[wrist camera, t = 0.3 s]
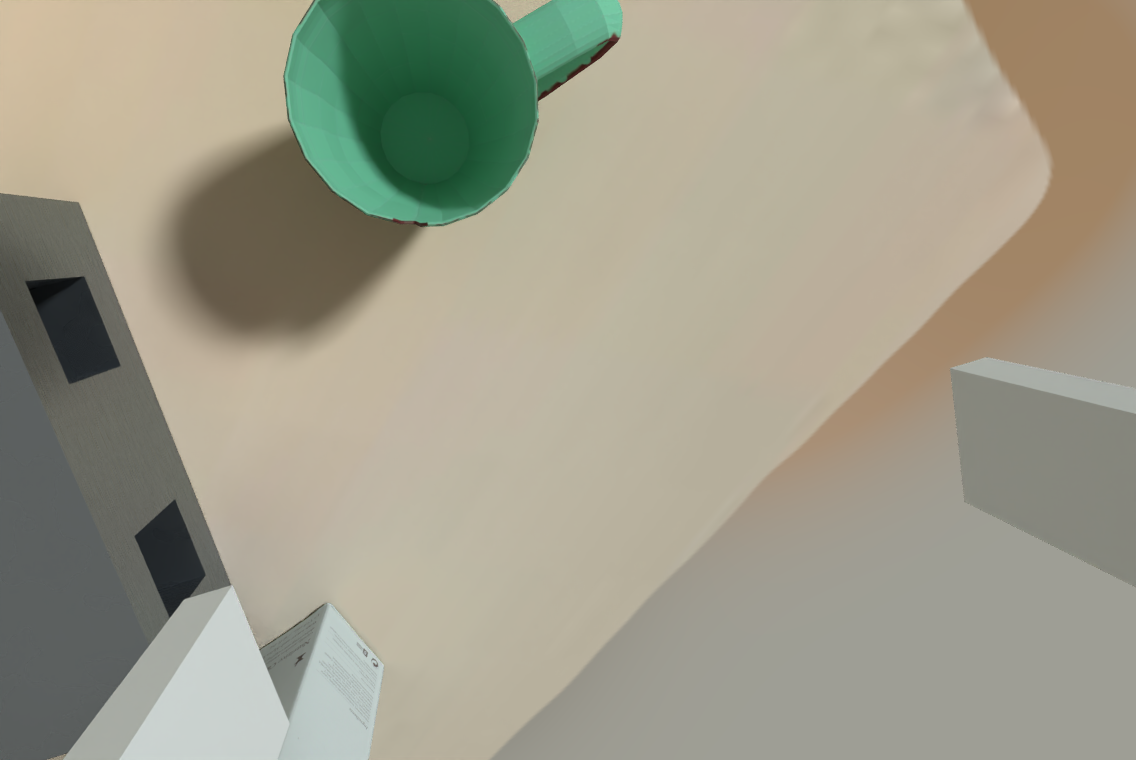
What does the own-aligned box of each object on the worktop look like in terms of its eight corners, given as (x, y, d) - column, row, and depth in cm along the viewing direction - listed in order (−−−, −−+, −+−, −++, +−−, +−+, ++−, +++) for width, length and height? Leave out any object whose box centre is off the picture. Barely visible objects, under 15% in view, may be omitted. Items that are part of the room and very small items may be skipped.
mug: (394, 264, 36) (373, 271, 27) (292, 95, 34) (228, 34, 24) (621, 139, 37) (681, 101, 27) (539, -36, 35) (572, -145, 25)
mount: (-136, 249, 32) (-355, 250, 23) (78, 202, 33) (-54, 186, 24) (64, 664, 38) (-53, 790, 29) (241, 611, 39) (181, 717, 30)
